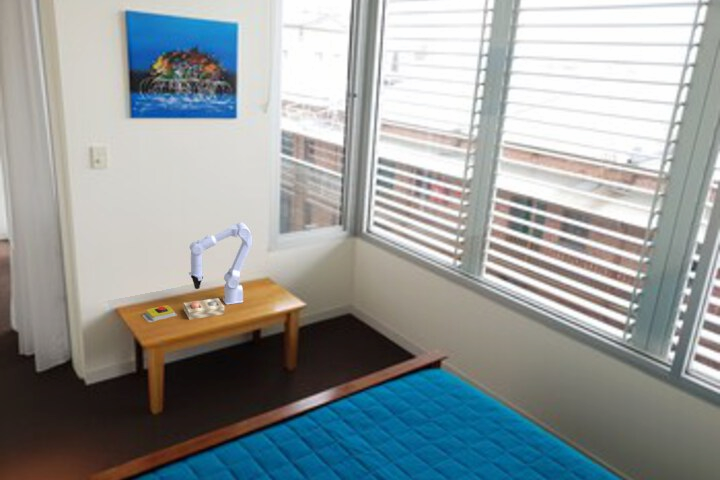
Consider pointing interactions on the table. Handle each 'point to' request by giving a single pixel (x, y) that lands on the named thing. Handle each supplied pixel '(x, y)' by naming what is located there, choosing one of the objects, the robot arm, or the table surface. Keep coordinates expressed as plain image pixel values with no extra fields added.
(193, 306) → the terracotta button
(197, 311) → the button panel
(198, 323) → the table surface
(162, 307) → the emergency button
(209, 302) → the grey button
